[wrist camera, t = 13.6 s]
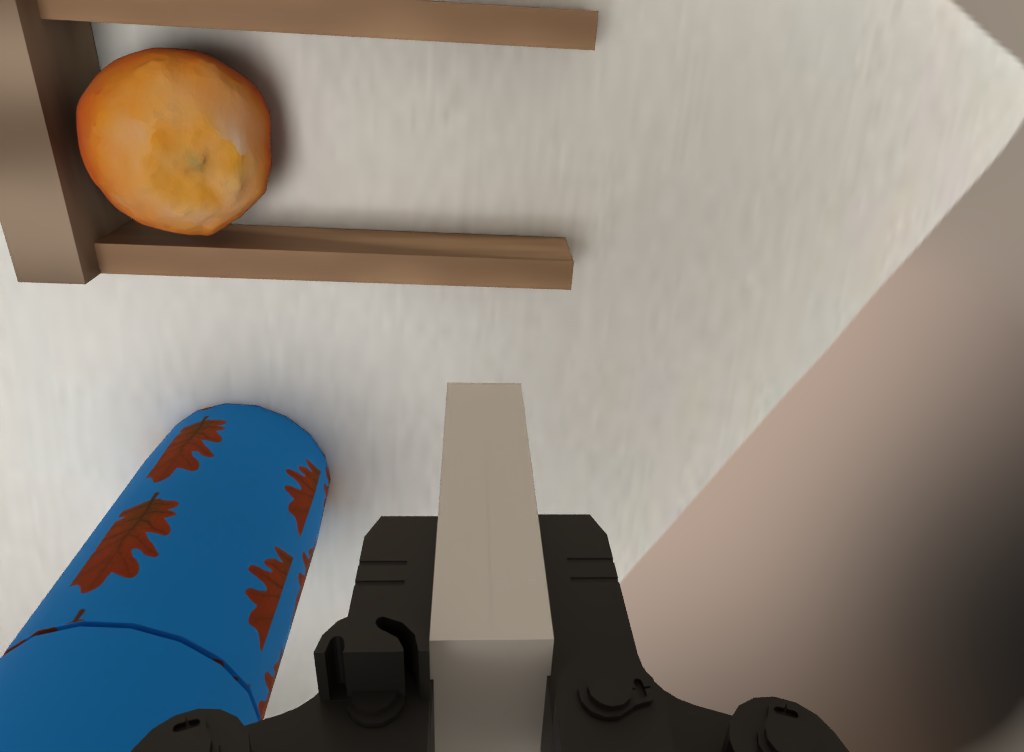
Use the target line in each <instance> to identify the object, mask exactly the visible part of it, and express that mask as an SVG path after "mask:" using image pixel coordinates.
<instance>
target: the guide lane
mask: <svg viewBox="0 0 1024 752" xmlns="http://www.w3.org/2000/svg"><path fill="white" fill-rule="evenodd" d="M597 21H598V11H588V10H571V9H555V8H538V7H522V6H505V5H489V4H472V3H456V2H439V1H423V0H0V222H1V225H2V229H3V232H4V235H5V239H6V242H7V246H8V249H9V252H10V256H11V259H12V262H13V266H14V269H15V273H16V276H17V279H18V282H35V283H65V284H86V283H88V282H89V281H91V280H92V279H93V278H95V277H96V276H98V275H99V274H100V273H106V274H134V275H163V276H191V277H220V278H248V279H277V280H306V281H334V282H363V283H391V284H420V285H448V286H477V287H505V288H534V289H563V290H571V284H572V274H573V264H574V261H573V258H572V255H571V253H570V250H569V247H568V245H567V242H566V239H565V238H559V237H534V236H509V235H484V234H458V233H433V232H408V231H383V230H358V229H333V228H307V227H282V226H257V225H232V224H228V225H227V226H226V227H225V228H223V229H221V230H219V231H218V232H216V233H214V234H213V235H209V236H205V235H187V234H180V233H174V232H169V231H164V230H161V229H157V228H154V227H150V226H146V225H143V224H141V223H139V222H137V221H131V219H130V217H129V216H128V215H126V214H124V213H123V212H121V211H120V210H118V209H117V208H116V207H115V206H114V205H113V204H112V203H111V202H110V201H109V200H108V199H107V197H106V196H105V195H104V193H103V192H102V191H101V189H100V188H99V187H98V186H97V185H96V184H95V182H94V181H93V180H92V178H91V177H90V175H89V173H88V171H87V169H86V167H85V165H84V162H83V159H82V157H81V153H80V149H79V144H78V136H77V125H76V111H77V105H78V102H79V100H80V98H81V96H82V95H83V93H84V91H85V90H86V89H87V87H88V86H89V84H90V83H91V82H92V80H93V79H94V77H95V76H96V75H97V74H98V73H99V72H100V68H99V63H98V58H97V53H96V48H95V44H94V39H93V34H92V29H91V24H90V22H106V23H124V24H141V25H159V26H176V27H194V28H211V29H229V30H247V31H264V32H282V33H299V34H317V35H334V36H352V37H370V38H387V39H405V40H422V41H440V42H458V43H475V44H493V45H510V46H528V47H545V48H563V49H581V50H595V41H596V31H597Z"/></svg>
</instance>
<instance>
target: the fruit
mask: <svg viewBox="0 0 1024 752" xmlns="http://www.w3.org/2000/svg"><path fill="white" fill-rule="evenodd" d="M76 125H77V136H78V144H79V149H80V153H81V157H82V159H83V162H84V165H85V167H86V169H87V171H88V173H89V175H90V177H91V178H92V180H93V181H94V182H95V184H96V185H97V186H98V187H99V188H100V189H101V191H102V192H103V193H104V195H105V196H106V197H107V199H108V200H109V201H110V202H111V203H112V204H113V205H114V206H115V207H116V208H117V209H118V210H120V211H121V212H123V213H124V214H126V215H128V216H129V217H131V218H133V219H134V220H136V221H137V222H139V223H141V224H143V225H146V226H150V227H154V228H157V229H161V230H164V231H169V232H174V233H180V234H187V235H205V236H209V235H213V234H214V233H216V232H218V231H219V230H221V229H223V228H225V227H226V226H227V225H228V224H230V223H231V222H232V221H234V220H236V219H238V218H240V217H241V216H242V215H243V214H244V213H245V212H246V211H247V210H248V209H249V208H250V207H251V206H252V205H253V204H254V203H255V202H256V201H257V200H258V199H259V198H260V197H261V196H262V195H263V194H264V193H265V191H266V187H267V181H268V177H269V173H270V169H271V165H272V158H271V149H270V136H271V118H270V113H269V110H268V108H267V105H266V103H265V101H264V99H263V97H262V95H261V93H260V92H259V91H258V89H257V88H256V87H255V86H254V84H253V83H251V82H250V81H249V80H248V79H247V78H246V77H244V76H243V75H241V74H240V73H238V72H236V71H235V70H233V69H232V68H230V67H228V66H227V65H225V64H223V63H222V62H220V61H218V60H217V59H215V58H213V57H211V56H209V55H207V54H204V53H201V52H198V51H194V50H188V49H173V48H151V49H146V50H142V51H138V52H135V53H132V54H129V55H126V56H124V57H121V58H119V59H117V60H115V61H113V62H112V63H110V64H109V65H108V66H107V67H105V68H104V69H103V70H102V71H100V72H99V73H98V74H97V75H96V76H95V77H94V79H93V80H92V82H91V83H90V84H89V86H88V87H87V89H86V90H85V91H84V93H83V95H82V96H81V98H80V100H79V102H78V105H77V111H76Z"/></svg>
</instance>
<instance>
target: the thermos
mask: <svg viewBox="0 0 1024 752" xmlns="http://www.w3.org/2000/svg"><path fill="white" fill-rule="evenodd" d="M329 483H330V476H329V472H328V467H327V463H326V459H325V455H324V454H323V453H322V451H321V450H320V448H319V447H318V445H317V444H316V443H315V441H314V440H313V438H312V437H311V435H310V434H309V433H307V432H306V431H305V430H303V429H302V428H301V427H299V426H298V425H297V424H295V423H294V422H293V421H291V420H290V419H289V418H287V417H286V416H283V415H280V414H278V413H275V412H272V411H270V410H267V409H264V408H261V407H259V406H253V405H238V404H222V405H218V406H214V407H210V408H206V409H202V410H198V411H196V412H195V413H193V414H192V415H190V416H189V417H188V418H186V419H185V420H183V421H182V422H180V423H179V424H177V425H176V426H175V427H174V428H173V430H172V431H171V432H170V433H169V434H168V435H167V436H166V438H165V439H164V440H163V441H162V442H161V443H160V444H159V446H158V447H157V448H156V449H155V450H154V451H153V453H152V454H151V455H150V456H149V457H148V458H147V459H146V461H145V462H144V464H143V465H142V466H141V468H140V469H139V470H138V472H137V473H136V474H135V476H134V477H133V478H132V480H131V481H130V483H129V484H128V485H127V487H126V488H125V489H124V491H123V492H122V493H121V495H120V496H119V498H118V499H117V500H116V502H115V503H114V504H113V506H112V507H111V508H110V510H109V511H108V513H107V514H106V515H105V517H104V518H103V519H102V521H101V522H100V523H99V525H98V526H97V527H96V529H95V530H94V532H93V533H92V534H91V536H90V537H89V538H88V540H87V541H86V542H85V544H84V545H83V547H82V548H81V549H80V551H79V552H78V553H77V555H76V556H75V557H74V559H73V560H72V562H71V563H70V564H69V566H68V567H67V568H66V570H65V571H64V572H63V574H62V575H61V577H60V578H59V579H58V581H57V582H56V583H55V585H54V586H53V587H52V589H51V590H50V591H49V593H48V594H47V596H46V597H45V598H44V600H43V601H42V602H41V604H40V605H39V606H38V608H37V609H36V611H35V612H34V613H33V615H32V616H31V617H30V619H29V620H28V621H27V623H26V624H25V626H24V627H23V628H22V630H21V631H20V632H19V634H18V635H17V636H16V638H15V639H14V640H13V642H12V643H11V645H10V646H9V647H8V649H7V650H6V651H5V653H4V655H3V656H2V657H1V658H0V752H131V751H132V749H133V748H134V747H135V746H136V745H137V744H138V743H139V742H140V741H141V740H142V739H143V738H144V737H145V736H146V735H147V734H148V733H149V732H150V731H151V730H152V729H153V728H155V727H156V726H158V725H160V724H161V723H163V722H165V721H166V720H168V719H170V718H171V717H173V716H175V715H178V714H181V713H185V712H188V711H192V710H195V709H221V710H223V711H226V712H228V713H230V714H232V715H235V716H237V717H238V718H239V720H240V721H241V722H242V724H243V725H244V726H245V725H248V724H252V723H255V722H258V721H261V720H263V718H264V715H265V711H266V708H267V705H268V702H269V698H270V695H271V692H272V688H273V685H274V682H275V678H276V675H277V672H278V668H279V665H280V662H281V659H282V655H283V652H284V649H285V645H286V642H287V639H288V635H289V632H290V629H291V626H292V622H293V619H294V616H295V612H296V609H297V606H298V602H299V599H300V596H301V592H302V589H303V586H304V583H305V579H306V576H307V573H308V569H309V566H310V563H311V559H312V556H313V553H314V550H315V546H316V543H317V539H318V534H319V530H320V525H321V520H322V516H323V511H324V507H325V502H326V497H327V492H328V488H329Z"/></svg>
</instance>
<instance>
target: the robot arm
mask: <svg viewBox="0 0 1024 752" xmlns="http://www.w3.org/2000/svg"><path fill="white" fill-rule="evenodd" d="M314 659H315V667H316V675H317V682H318V690H319V693H318V694H317V695H316V696H315V697H313V698H312V699H310V700H309V701H307V702H306V703H304V704H303V705H301V706H300V707H298V708H295V709H293V710H291V711H288V712H286V713H283V714H281V715H278V716H274V717H271V718H268V719H265V720H261V721H258V722H255V723H252V724H248V725H245V726H244V725H243V724H242V722H241V721H240V720H239V718H238V717H237V716H235V715H232V714H230V713H228V712H226V711H223V710H221V709H195V710H192V711H188V712H185V713H181V714H178V715H175V716H173V717H171V718H170V719H168V720H166V721H165V722H163V723H161V724H160V725H158V726H156V727H155V728H153V729H152V730H151V731H150V732H149V733H148V734H147V735H146V736H145V737H144V738H143V739H142V740H141V741H140V742H139V743H138V744H137V745H136V746H135V747H134V748H133V749H132V751H131V752H849V751H848V750H847V748H846V747H845V746H844V744H843V743H842V742H841V741H840V739H839V738H838V737H837V735H836V734H835V733H834V732H833V731H832V730H831V729H830V728H829V727H828V726H827V725H826V724H825V723H824V722H823V721H822V720H821V719H820V718H819V717H818V716H817V715H816V714H814V713H813V712H811V711H809V710H808V709H806V708H804V707H802V706H801V705H799V704H797V703H795V702H791V701H788V700H784V699H780V698H777V697H760V698H753V699H751V700H749V701H747V702H745V703H743V704H741V705H739V706H738V708H737V709H736V711H735V713H734V714H733V716H731V715H728V714H724V713H721V712H717V711H713V710H710V709H706V708H703V707H699V706H696V705H693V704H690V703H688V702H685V701H682V700H680V699H677V698H676V697H674V696H673V695H671V694H669V693H668V692H666V691H664V690H663V689H662V688H661V687H660V686H659V685H657V684H656V683H655V682H654V680H653V678H652V677H651V676H650V675H649V674H648V673H647V672H646V671H645V669H644V668H643V666H642V664H641V662H640V659H639V656H638V654H637V650H636V646H635V642H634V639H633V634H632V631H631V627H630V623H629V619H628V615H627V611H626V607H625V604H624V599H623V596H622V592H621V588H620V584H619V582H618V576H617V572H616V568H615V564H614V563H613V557H612V553H611V549H610V545H609V541H608V537H607V534H606V533H605V532H604V531H603V530H602V528H601V527H600V526H599V525H598V524H597V523H596V521H595V520H594V519H593V518H592V517H591V516H590V515H538V512H537V504H536V496H535V488H534V481H533V473H532V465H531V458H530V450H529V442H528V434H527V427H526V419H525V411H524V403H523V396H522V388H521V384H516V383H447V397H446V411H445V425H444V439H443V453H442V468H441V482H440V496H439V510H438V516H381V517H380V519H379V520H378V521H377V522H376V523H375V525H374V526H373V527H372V528H371V530H370V531H369V532H368V533H367V535H366V536H365V537H364V542H363V546H362V551H361V556H360V563H359V566H358V570H357V575H356V580H355V586H354V590H353V594H352V599H351V604H350V609H349V614H348V617H346V618H344V619H341V620H339V621H337V622H336V623H335V624H334V625H333V626H332V627H331V628H330V629H329V630H328V631H327V632H325V633H324V634H323V635H322V637H321V639H320V641H319V643H318V645H317V647H316V649H315V651H314Z"/></svg>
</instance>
